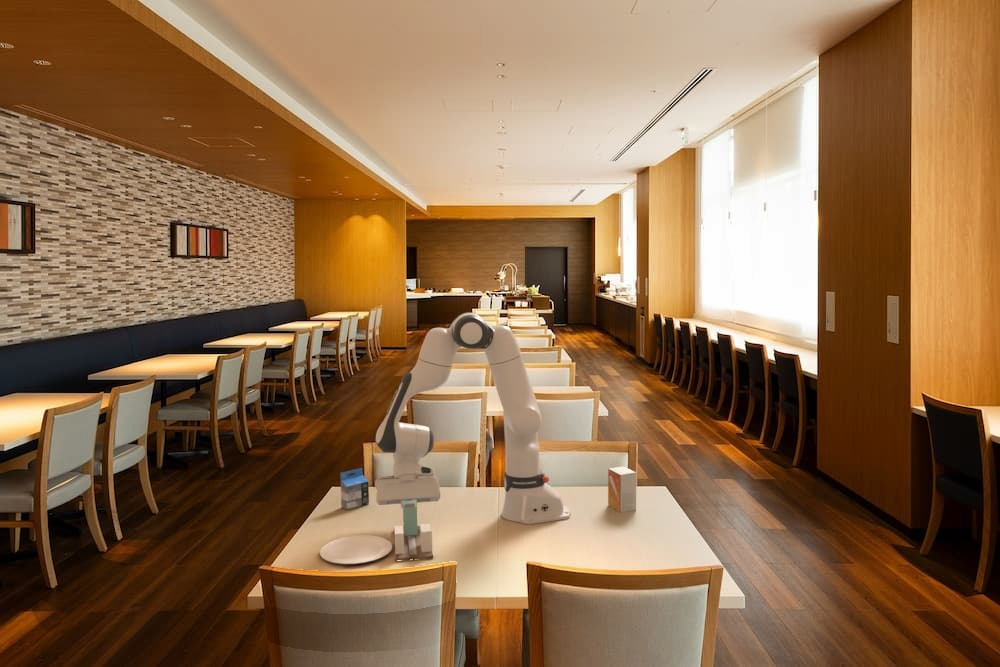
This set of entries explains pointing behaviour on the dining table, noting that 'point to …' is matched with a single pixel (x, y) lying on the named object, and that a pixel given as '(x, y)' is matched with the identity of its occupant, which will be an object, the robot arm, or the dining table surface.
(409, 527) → the block
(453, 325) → the robot arm
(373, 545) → the plate
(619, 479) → the small box
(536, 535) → the dining table surface
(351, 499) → the label tape cartridge
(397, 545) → the mounted modules
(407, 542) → the rail board
